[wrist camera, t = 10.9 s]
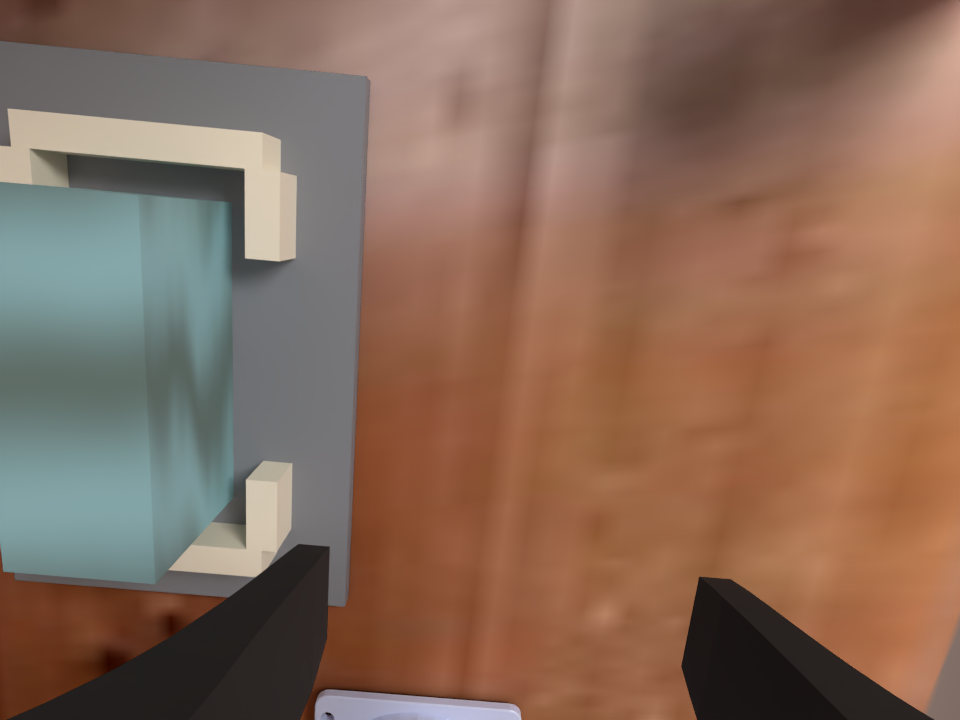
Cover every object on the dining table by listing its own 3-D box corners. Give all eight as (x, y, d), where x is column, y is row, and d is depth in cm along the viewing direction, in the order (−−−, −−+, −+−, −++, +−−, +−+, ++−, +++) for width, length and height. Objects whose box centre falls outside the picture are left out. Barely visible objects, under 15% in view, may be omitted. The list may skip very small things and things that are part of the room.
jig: (348, 596, 22) (334, 635, 20) (27, 570, 22) (-21, 606, 20) (370, 81, 18) (355, 62, 16) (-28, 43, 17) (-95, 19, 15)
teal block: (233, 497, 20) (155, 584, 15) (118, 487, 20) (3, 571, 15) (231, 202, 18) (138, 195, 13) (101, 189, 18) (-41, 178, 13)
